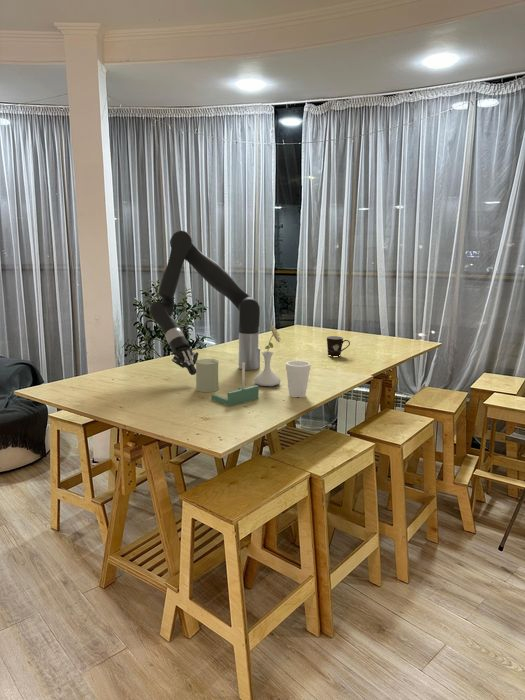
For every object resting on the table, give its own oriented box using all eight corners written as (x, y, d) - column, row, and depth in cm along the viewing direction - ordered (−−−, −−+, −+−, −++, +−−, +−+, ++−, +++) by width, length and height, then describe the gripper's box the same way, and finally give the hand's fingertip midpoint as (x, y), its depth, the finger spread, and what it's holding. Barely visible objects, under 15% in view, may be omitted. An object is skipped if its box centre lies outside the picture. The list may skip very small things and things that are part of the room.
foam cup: (293, 400, 189) (293, 367, 186) (280, 393, 197) (281, 362, 194) (314, 397, 193) (315, 364, 190) (301, 390, 201) (302, 359, 198)
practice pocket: (211, 399, 188) (211, 361, 185) (240, 392, 198) (240, 355, 195) (229, 406, 181) (229, 366, 178) (258, 398, 191) (258, 360, 187)
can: (214, 393, 197) (214, 363, 194) (192, 391, 198) (192, 362, 196) (221, 386, 205) (221, 358, 203) (200, 385, 207) (199, 356, 205)
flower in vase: (271, 390, 201) (272, 329, 196) (248, 385, 207) (248, 326, 202) (287, 382, 212) (288, 324, 207) (264, 378, 218) (265, 322, 213)
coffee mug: (324, 357, 260) (324, 338, 258) (328, 353, 268) (329, 335, 266) (346, 359, 256) (347, 340, 254) (349, 355, 264) (350, 337, 261)
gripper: (166, 337, 206) (184, 371, 200) (193, 333, 215) (210, 366, 209) (160, 347, 211) (177, 381, 205) (186, 343, 220) (203, 376, 214)
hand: (194, 373), depth 207 cm, fingers closed
